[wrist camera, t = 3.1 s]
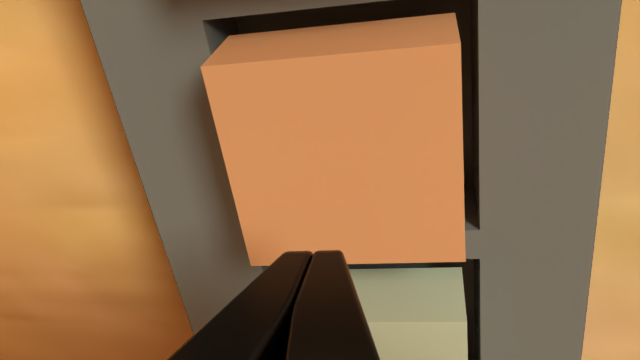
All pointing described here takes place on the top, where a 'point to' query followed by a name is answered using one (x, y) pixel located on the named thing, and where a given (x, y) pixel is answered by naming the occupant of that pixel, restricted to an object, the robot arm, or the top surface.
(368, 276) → the sage key
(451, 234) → the terracotta key
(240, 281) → the button panel
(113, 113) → the top surface
